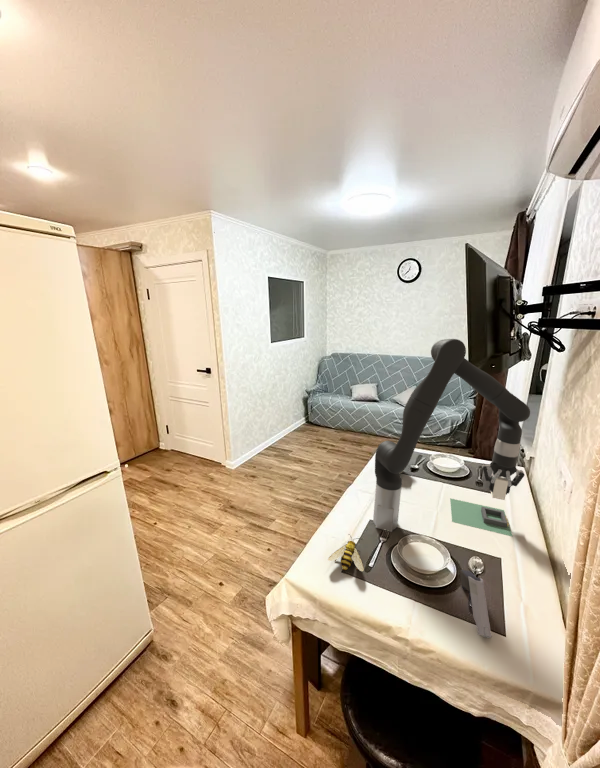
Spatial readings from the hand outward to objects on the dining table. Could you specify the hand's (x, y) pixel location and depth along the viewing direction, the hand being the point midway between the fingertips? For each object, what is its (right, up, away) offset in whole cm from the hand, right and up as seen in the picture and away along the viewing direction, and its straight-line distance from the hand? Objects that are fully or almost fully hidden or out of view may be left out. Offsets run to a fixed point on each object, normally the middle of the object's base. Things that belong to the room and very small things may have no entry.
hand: (498, 491), depth 119 cm
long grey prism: (-27, -23, -31) cm, 47 cm away
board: (-5, -12, +5) cm, 14 cm away
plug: (0, -2, +1) cm, 2 cm away
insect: (-59, -18, -15) cm, 63 cm away
